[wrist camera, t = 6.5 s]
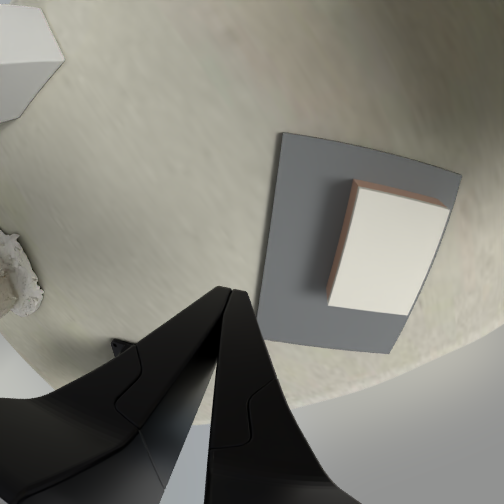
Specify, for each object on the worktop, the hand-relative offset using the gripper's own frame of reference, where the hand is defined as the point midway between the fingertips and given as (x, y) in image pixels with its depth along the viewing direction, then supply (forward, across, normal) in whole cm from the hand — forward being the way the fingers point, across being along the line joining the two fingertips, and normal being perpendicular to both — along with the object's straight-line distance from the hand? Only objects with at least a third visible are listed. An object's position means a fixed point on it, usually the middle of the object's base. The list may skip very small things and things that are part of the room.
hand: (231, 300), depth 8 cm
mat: (+12, -7, +4) cm, 14 cm away
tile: (+10, -5, +2) cm, 12 cm away
